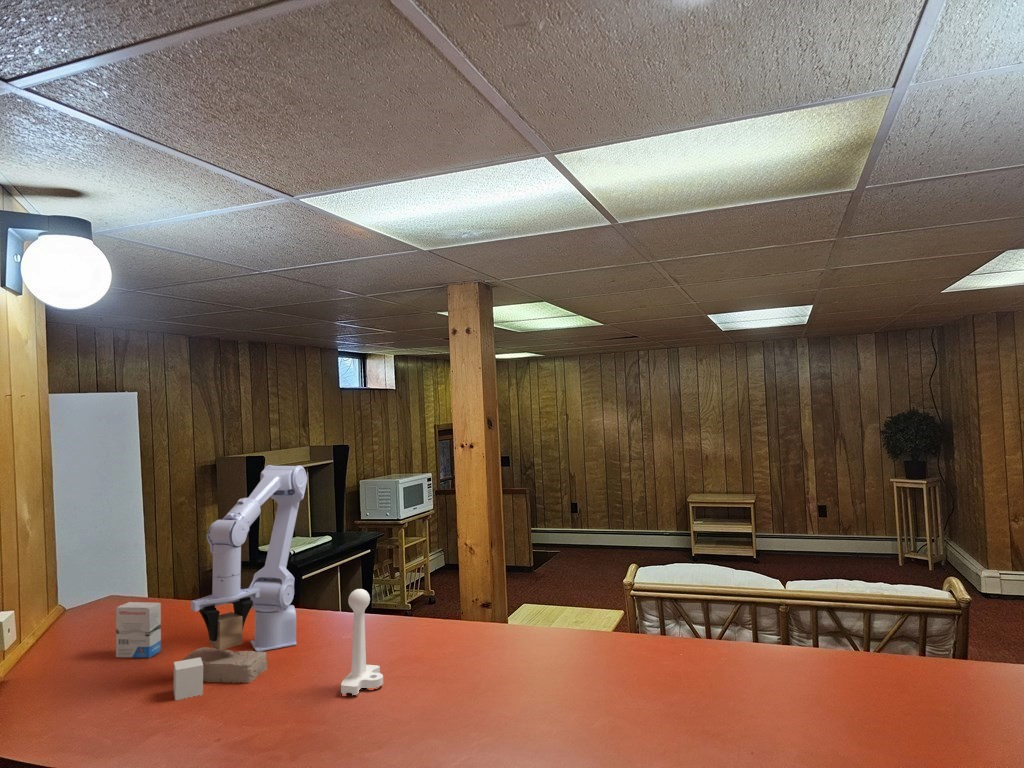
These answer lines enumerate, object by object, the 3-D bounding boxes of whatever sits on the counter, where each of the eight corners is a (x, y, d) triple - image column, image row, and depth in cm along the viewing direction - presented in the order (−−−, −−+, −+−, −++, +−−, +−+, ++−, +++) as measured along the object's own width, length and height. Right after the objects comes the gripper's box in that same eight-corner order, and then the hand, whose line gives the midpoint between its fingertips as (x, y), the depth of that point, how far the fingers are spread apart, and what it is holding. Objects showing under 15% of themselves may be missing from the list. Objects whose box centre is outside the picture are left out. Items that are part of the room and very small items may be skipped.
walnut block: (231, 639, 148) (231, 612, 148) (242, 644, 145) (242, 616, 145) (209, 645, 144) (209, 617, 145) (219, 650, 141) (220, 622, 141)
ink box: (162, 651, 158) (162, 601, 158) (148, 659, 153) (149, 607, 153) (128, 650, 159) (129, 600, 159) (114, 657, 154) (115, 606, 154)
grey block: (200, 686, 138) (200, 657, 138) (202, 695, 133) (203, 665, 134) (173, 691, 135) (174, 661, 135) (175, 700, 131) (175, 670, 131)
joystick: (361, 674, 143) (361, 581, 144) (393, 677, 142) (393, 583, 142) (335, 695, 133) (336, 595, 133) (370, 699, 131) (370, 598, 132)
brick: (268, 669, 147) (269, 648, 147) (249, 685, 138) (249, 662, 139) (199, 667, 149) (199, 646, 149) (176, 682, 140) (176, 660, 141)
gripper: (249, 565, 153) (248, 624, 153) (185, 577, 142) (184, 641, 142) (264, 570, 149) (263, 631, 148) (199, 583, 138) (198, 648, 137)
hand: (225, 636), depth 145 cm, fingers closed on walnut block, 5 cm apart
